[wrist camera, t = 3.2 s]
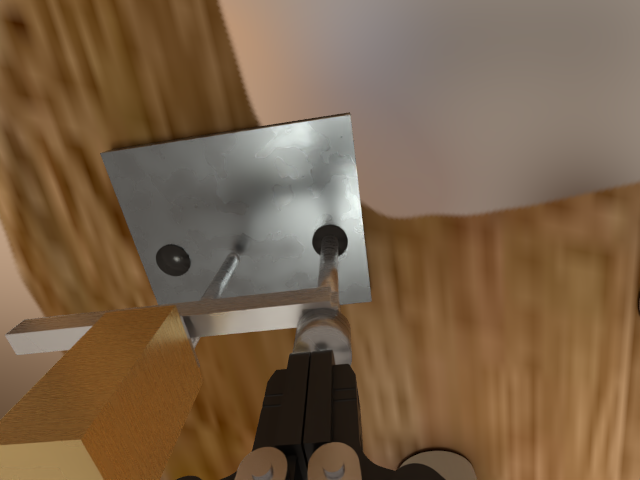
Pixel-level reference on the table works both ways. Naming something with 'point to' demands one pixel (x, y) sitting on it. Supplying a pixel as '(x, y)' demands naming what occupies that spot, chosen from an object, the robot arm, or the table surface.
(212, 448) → the table surface
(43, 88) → the table surface
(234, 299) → the bolt plate
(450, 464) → the travel mug
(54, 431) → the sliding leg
